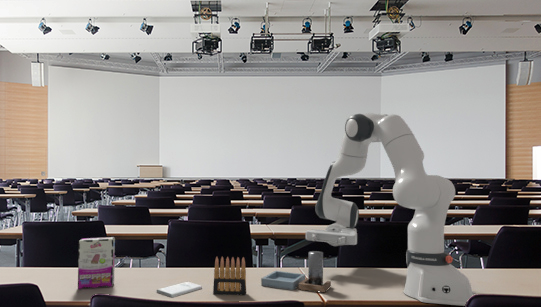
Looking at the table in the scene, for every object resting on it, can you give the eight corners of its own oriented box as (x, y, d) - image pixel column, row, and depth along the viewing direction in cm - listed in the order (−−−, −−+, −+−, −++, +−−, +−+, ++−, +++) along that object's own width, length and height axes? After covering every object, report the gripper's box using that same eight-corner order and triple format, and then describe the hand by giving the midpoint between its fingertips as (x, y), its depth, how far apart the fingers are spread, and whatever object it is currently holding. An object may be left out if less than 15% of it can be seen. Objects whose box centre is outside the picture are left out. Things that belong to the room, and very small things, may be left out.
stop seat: (330, 287, 133) (330, 281, 133) (324, 293, 126) (324, 287, 126) (306, 283, 136) (306, 278, 136) (298, 289, 130) (298, 283, 130)
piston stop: (324, 286, 133) (324, 251, 134) (320, 290, 128) (320, 254, 129) (311, 284, 135) (311, 250, 136) (306, 288, 131) (306, 253, 131)
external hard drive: (156, 294, 126) (186, 285, 135) (171, 299, 121) (202, 290, 130) (156, 289, 126) (186, 281, 135) (171, 294, 121) (202, 285, 130)
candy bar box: (114, 283, 136) (115, 236, 137) (112, 287, 131) (113, 238, 132) (80, 285, 133) (81, 237, 134) (76, 289, 128) (78, 240, 129)
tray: (305, 281, 140) (305, 274, 140) (293, 290, 129) (293, 282, 129) (275, 277, 145) (275, 270, 145) (261, 285, 134) (261, 278, 134)
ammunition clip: (246, 293, 125) (246, 256, 126) (245, 295, 123) (245, 257, 124) (214, 292, 126) (214, 255, 126) (212, 294, 124) (213, 257, 125)
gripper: (311, 224, 161) (300, 229, 149) (360, 228, 153) (352, 233, 140) (311, 239, 161) (299, 245, 149) (360, 244, 152) (352, 251, 140)
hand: (325, 239), depth 144 cm, fingers open, 8 cm apart
